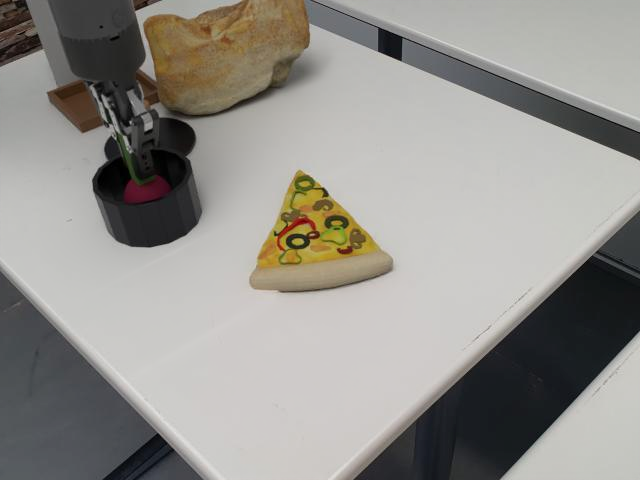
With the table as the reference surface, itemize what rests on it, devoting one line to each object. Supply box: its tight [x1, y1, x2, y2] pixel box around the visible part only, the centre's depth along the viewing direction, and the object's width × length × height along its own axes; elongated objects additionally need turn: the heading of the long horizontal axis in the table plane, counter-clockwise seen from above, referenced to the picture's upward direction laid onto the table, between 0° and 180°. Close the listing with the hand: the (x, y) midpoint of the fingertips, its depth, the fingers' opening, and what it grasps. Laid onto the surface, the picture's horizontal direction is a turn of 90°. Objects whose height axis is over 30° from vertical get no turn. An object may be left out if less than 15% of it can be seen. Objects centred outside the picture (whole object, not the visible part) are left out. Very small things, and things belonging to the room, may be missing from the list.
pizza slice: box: [249, 169, 394, 292], centre depth 79 cm, size 16×21×3 cm
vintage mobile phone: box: [25, 0, 80, 88], centre depth 98 cm, size 4×5×25 cm
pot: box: [91, 147, 203, 249], centre depth 81 cm, size 11×11×6 cm
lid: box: [103, 100, 197, 161], centre depth 91 cm, size 12×12×7 cm
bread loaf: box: [142, 0, 311, 116], centre depth 99 cm, size 23×17×15 cm
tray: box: [46, 68, 161, 134], centre depth 101 cm, size 14×12×2 cm
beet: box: [117, 132, 172, 203], centre depth 78 cm, size 6×6×12 cm
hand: (141, 170), depth 78 cm, fingers closed on beet
